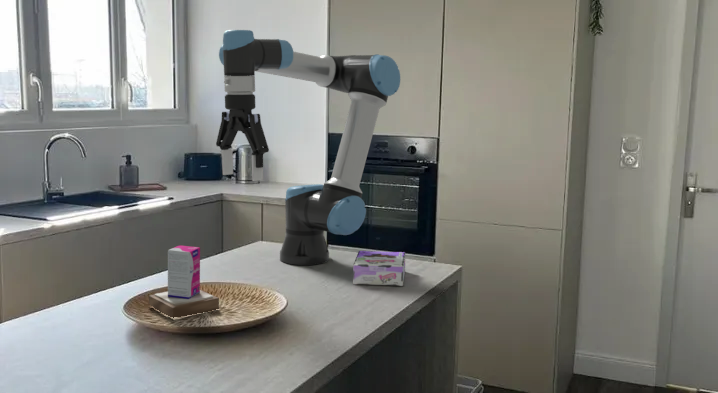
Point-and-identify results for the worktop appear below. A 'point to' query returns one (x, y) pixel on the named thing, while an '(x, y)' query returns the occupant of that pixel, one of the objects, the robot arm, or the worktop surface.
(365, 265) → the candy box
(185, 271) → the supplement box
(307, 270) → the worktop surface
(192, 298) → the stand
